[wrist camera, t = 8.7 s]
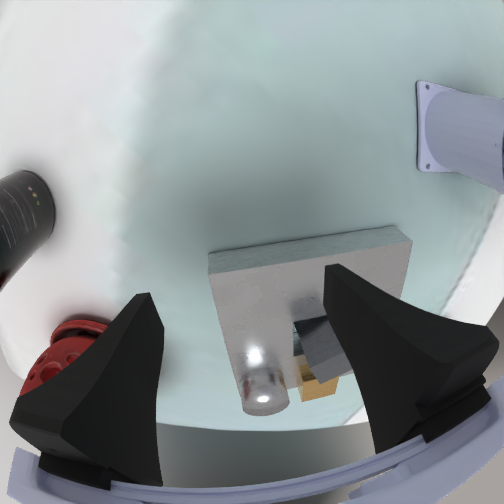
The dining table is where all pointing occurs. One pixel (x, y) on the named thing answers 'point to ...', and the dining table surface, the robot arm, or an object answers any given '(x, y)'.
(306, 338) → the metal block
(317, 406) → the dining table surface
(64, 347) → the plant pot
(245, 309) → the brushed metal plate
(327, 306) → the robot arm
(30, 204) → the supplement bottle
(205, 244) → the dining table surface
